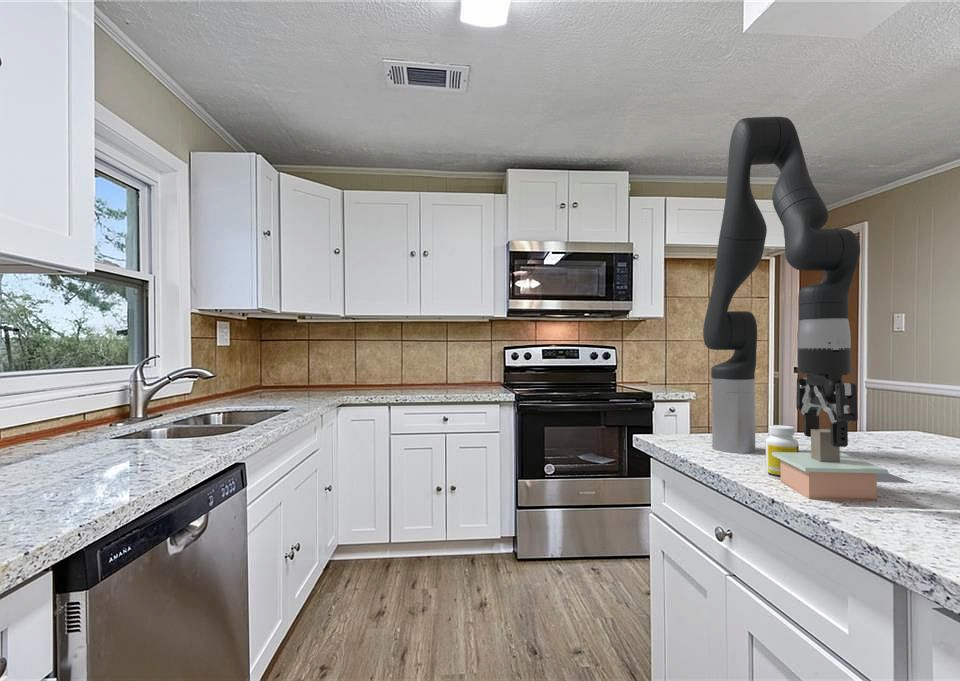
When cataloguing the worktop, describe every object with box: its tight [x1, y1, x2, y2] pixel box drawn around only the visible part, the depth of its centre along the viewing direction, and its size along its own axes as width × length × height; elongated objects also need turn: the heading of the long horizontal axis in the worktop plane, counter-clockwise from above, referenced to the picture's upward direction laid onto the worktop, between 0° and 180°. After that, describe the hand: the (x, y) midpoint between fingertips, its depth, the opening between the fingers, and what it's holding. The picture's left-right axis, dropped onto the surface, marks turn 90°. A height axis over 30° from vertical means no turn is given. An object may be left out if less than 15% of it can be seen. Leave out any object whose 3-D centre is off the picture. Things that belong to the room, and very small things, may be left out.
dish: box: [780, 459, 878, 502], centre depth 85 cm, size 10×10×5 cm
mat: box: [877, 472, 914, 484], centre depth 96 cm, size 12×12×1 cm
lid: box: [772, 428, 889, 474], centre depth 85 cm, size 12×12×6 cm
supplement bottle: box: [765, 424, 800, 481], centre depth 95 cm, size 5×5×10 cm
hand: (824, 441), depth 85 cm, fingers open, 8 cm apart
